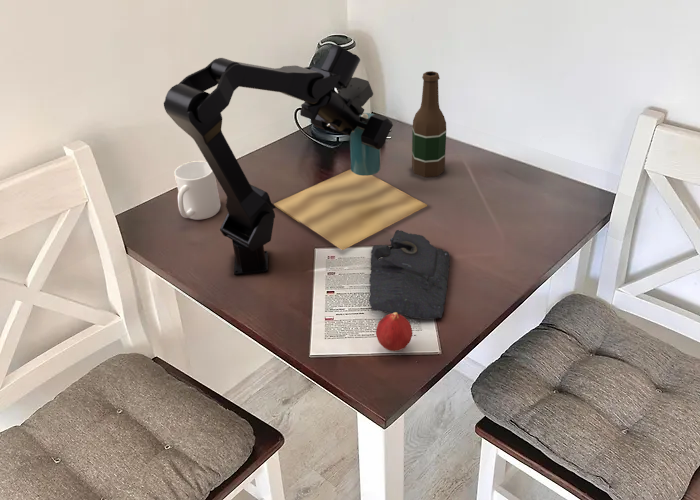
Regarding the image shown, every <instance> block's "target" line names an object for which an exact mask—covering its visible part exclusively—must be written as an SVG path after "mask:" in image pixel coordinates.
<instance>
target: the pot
mask: <svg viewBox="0 0 700 500" xmlns="http://www.w3.org/2000/svg"><path fill="white" fill-rule="evenodd" d="M374 114H375V113H371V112H363V114H362V115H360V117H363V118H366V119H369V118H370V117H371V116H372V115H374ZM364 124H365V123H364ZM363 131H364V130H362V129H359V128H355V131H354V132H351V134H350V136H349V161H350V169H351V171H352V172H353V173H355V174H357V175H362V176H368V175H373V176H374V175H376V174H377V173H379V172H380V171H381V167H382V166H381V161H382V160H381V156H382V155H381V149H379V150H378V149H375V148H372V147H369V146H367V145H364V144H362V142H361V135H362V133H363Z"/></svg>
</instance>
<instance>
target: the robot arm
mask: <svg viewBox="0 0 700 500" xmlns="http://www.w3.org/2000/svg"><path fill="white" fill-rule="evenodd" d="M360 62H361V57H359V56H358V55H357V54H354V53H353V52H351V51H349V50H347V49H345V48H343V46H341V45H338V44H335V43H331V46H330V48H329V51H328V53H327V56H326V58H325V59H324V62H323V64H322V66H321V68H318V67H314V66H311V65H310V66H306V67H303V66H299V65H283V66H281V67H278V68H274V67H268V66H262V65H258V64H251V63H250V64H249V63H246V62H240V61H234V60H230V59H228V58H225V57H218V58H215V59H213V60H211V62H210V63H209V64H207V66H205V67H203V68H201V69H199V70H197V71H195V72H193V73H190V74H188V75H187V76H185V77H184V78H183V79H182V80H181V81H180V82H179V83H176V84H175V85H173V86H171V87H170V89H169V90H168V91H167V93H166V95H165V99H164V101H163V108H164V111H165V113H166V114H167V116H169V118H170V119H171V120H172V121H173V122H174V123H175V124H176V125H177V126H178V127H179V128H180V129H181V130H182V131H184V133H186V134H187V135H188V136H190V138H192V139H193V141H194V142H195V144H196V146H197V148H198V150H199V151H200V153H201V154H202V156H203V158H204V159H205V161H206V162H207V163H208V164H209V166H210V168H211V170H212V171H213V173H214V175H215V177H216V181H217V183H219V185H220V187H221V188H222V190H223V192H224V194H225V195H226V202H225V207H226V210H227V214H226V216H225V218H224V220H223V221H222V223H221V226H220V228H219V230H220V232H221V234H222V235H223V236H224V237H227V238H228V239H230V240H231V242H232V247H233V253H234V266H233V275H234V276H242V275H243V276H244V275H253V274H262V273H268V272H269V252H268V250H265V247H264V245H266V244H268V243H270V242H271V241H272V237H273V236H272V235H273V228H274V222H275V218H276V212H275V210H274V209H276V207H275V206H274V203H272V201H271V198H270V194H268V192H267V191H265V190H263V189H261V188H259V187H257V186H255V185H253V184H250V182H249V180H248V178H247V176H246V175H245V172H244V170H243V169H242V167H241V165H240V163H239V161H238V159H237V157H236V156H235V153H234V152H233V150H232V149H231V146H230V144H229V142H228V140H227V139H226V138H225V135H224V133H223V131H222V126H223V115H222V112H223V111H225V109H226V108H227V107H228V106H229V105H230V103H231V100H232V97H233V94H234V92H235V91H236V90H237V89H238V88H239V87H240V88H246V89H253V90H254V89H255V90H260V91H267V92H275V93H280V94H283V95H285V96H288V97H292V98H293V99H297V100H298V101H299V100H300V101H303V103H301V106H300V108H301V109H300V113H299V114H300V116H301V117H304V118H306V119H309V120H310V124H312V125H313V126H314V127H316V128H319V129H322V130H324V131H327V132H329V133H332V134H337V135H344V136H349V137H350V134H351V132H354V131H355V128H359V129H362V130H364V131H363V133H362V135H361V142H362V144H364V145H367V146H369V147H372V148H375V149H378V150H379V149H380V150H381V149H382V148H383V146H384V144H385V142H386V140H387V138H388V137H389V134H390V132H391V130H392V128H393V126H394V124H393V122H392V121H391V120H390V119H389V118H388V117H386V116H382V115H379V114H377V113H373V114H374V115H372V116H371V117H370V118H369V119H366V118H363V117H360V115H362V114H363V113H365V109H364V107H363V106H364V105H365V104H366V103H367V102H368V101H369V100H370V99H371V98H373V96H374V91H373V88H372V86H371V83H370V82H369V80H367V79H363V78H360V77H355V76H354V75H355V73H356V70H357V68H358V66H359V64H360ZM214 87H216V88H214ZM211 88H214V90H213V91H212V92H210V93H209V92H207V91H208V90H210V89H211ZM335 89H336V90H335ZM364 123H365V124H364Z"/></svg>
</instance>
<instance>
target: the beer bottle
mask: <svg viewBox="0 0 700 500" xmlns="http://www.w3.org/2000/svg"><path fill="white" fill-rule="evenodd" d="M421 78H422V80H423V83H422V94H421V103H420V108H419V109H418V110H417V111H416V113H415V114H414V117H413V120H412V128H411V129H412V134H411V135H412V137H411V168H412V171H413V174H414V175H416V176H419V177H422V178H433V177H438V176H440V175H441V174H443V172H445V166H446V149H447V147H446V146H447V122H446V117H445V116H444V113H443V111H442V110H441V107H440V100H439V98H440V97H439V96H440V95H439V80H440V79H441V78H440V75H439V72H437V71H433V70H432V71H431V70H430V71H425V72H424V73H422V77H421Z"/></svg>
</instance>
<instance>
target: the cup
mask: <svg viewBox="0 0 700 500" xmlns="http://www.w3.org/2000/svg"><path fill="white" fill-rule="evenodd" d="M173 175H174V178H175V182H176V187H177V192H178V193H177V206H178V212H179V214H180V215H181V217H183V218H184V219H191V220H195V221H200V220H206V219H210V218H212V217H214V216H216V215H217V214H218V213H219V212H220V210H221V199H220V198H221V197H220V194H219V187H218V181H217V178H216V176H215V175H214V173H213V171H212V170H211V168H210V166H209V164H208V163H207V161H206V160H192V161H188V162H184V163H182V164H180V165H178V166H177V167H176V168H175V170H174V172H173Z"/></svg>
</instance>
